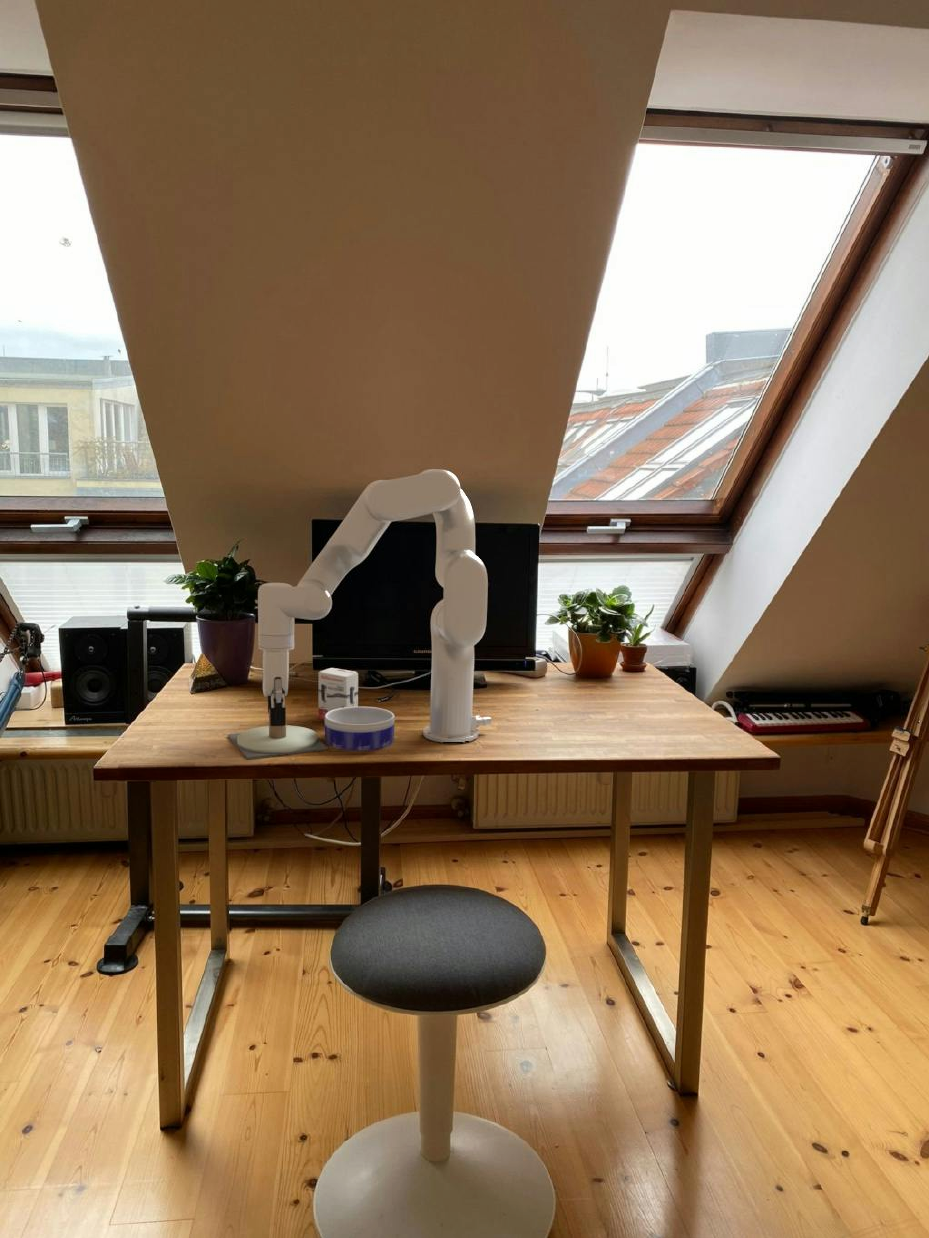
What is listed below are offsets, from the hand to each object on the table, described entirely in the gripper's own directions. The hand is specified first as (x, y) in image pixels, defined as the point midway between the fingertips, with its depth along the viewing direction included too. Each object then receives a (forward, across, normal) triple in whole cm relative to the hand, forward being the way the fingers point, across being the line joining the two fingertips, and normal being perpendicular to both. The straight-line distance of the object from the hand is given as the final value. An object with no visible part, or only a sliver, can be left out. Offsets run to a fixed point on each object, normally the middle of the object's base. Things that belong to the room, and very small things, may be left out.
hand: (276, 719), depth 186 cm
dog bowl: (+6, +1, +18) cm, 19 cm away
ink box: (+6, -16, +15) cm, 23 cm away
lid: (+5, 0, 0) cm, 5 cm away
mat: (+5, 0, 0) cm, 5 cm away
